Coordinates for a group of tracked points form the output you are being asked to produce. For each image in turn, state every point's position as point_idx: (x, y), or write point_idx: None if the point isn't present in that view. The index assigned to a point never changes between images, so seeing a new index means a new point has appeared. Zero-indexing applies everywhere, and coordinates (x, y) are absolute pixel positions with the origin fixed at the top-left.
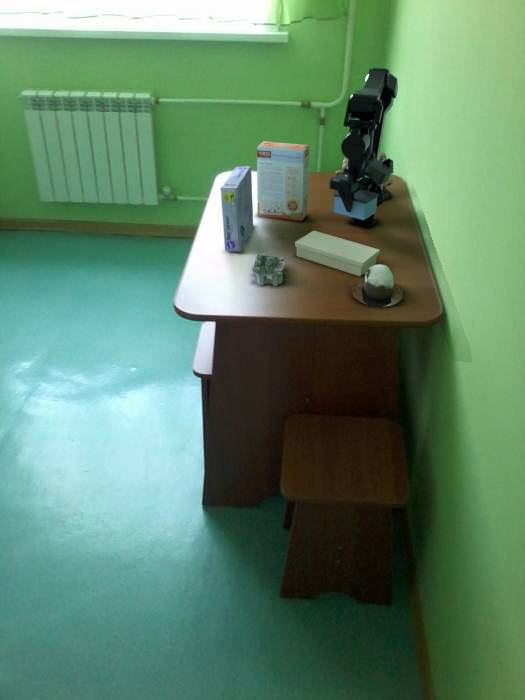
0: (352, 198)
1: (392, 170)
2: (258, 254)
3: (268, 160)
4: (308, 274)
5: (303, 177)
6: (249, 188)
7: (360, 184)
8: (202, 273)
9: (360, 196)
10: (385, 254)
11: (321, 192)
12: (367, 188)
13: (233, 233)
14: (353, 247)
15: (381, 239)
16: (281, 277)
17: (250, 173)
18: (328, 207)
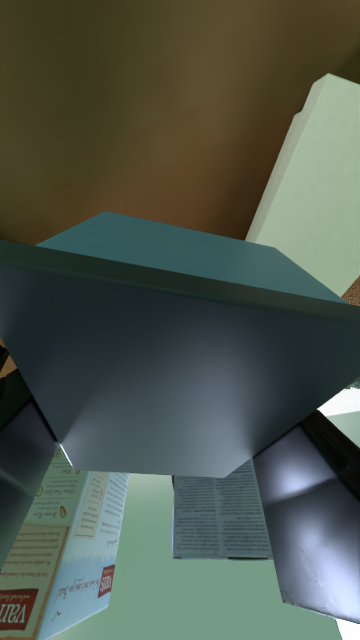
0: (338, 439)
1: None
2: None
3: (107, 556)
4: (356, 298)
5: (80, 494)
6: (200, 501)
7: (19, 488)
8: (337, 407)
9: (227, 406)
10: (185, 98)
11: None
12: (8, 428)
13: None
14: (302, 232)
15: (66, 173)
16: None
17: (183, 540)
18: (14, 363)
